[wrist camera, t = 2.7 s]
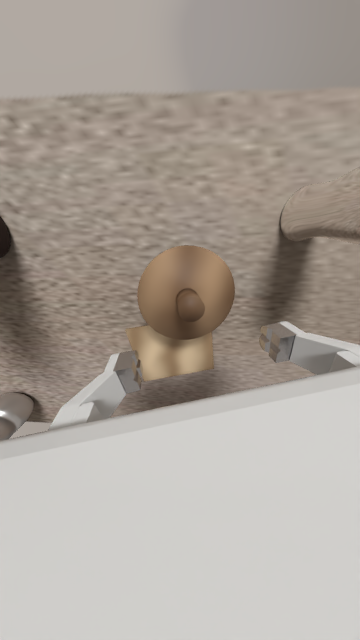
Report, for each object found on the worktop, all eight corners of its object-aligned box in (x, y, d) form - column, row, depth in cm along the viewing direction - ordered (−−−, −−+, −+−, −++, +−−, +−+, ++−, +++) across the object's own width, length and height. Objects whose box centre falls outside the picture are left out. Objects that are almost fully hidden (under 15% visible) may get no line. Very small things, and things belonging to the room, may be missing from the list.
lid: (231, 237, 16) (251, 236, 12) (230, 327, 21) (244, 345, 17) (125, 254, 16) (115, 259, 12) (151, 342, 21) (148, 362, 17)
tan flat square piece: (210, 314, 25) (210, 315, 25) (213, 367, 31) (213, 368, 31) (125, 329, 25) (125, 330, 25) (144, 379, 31) (144, 381, 30)
